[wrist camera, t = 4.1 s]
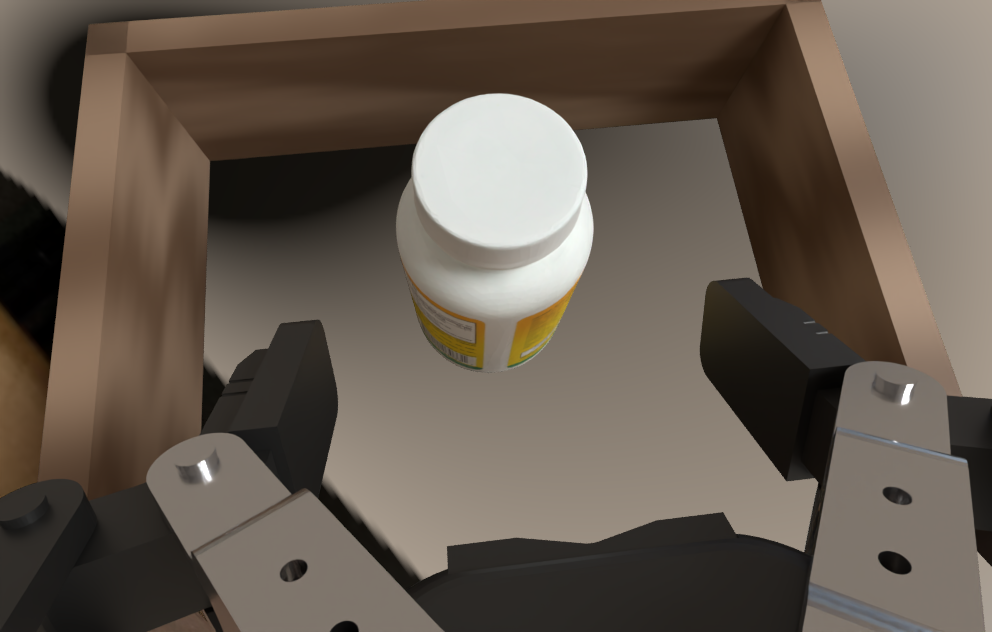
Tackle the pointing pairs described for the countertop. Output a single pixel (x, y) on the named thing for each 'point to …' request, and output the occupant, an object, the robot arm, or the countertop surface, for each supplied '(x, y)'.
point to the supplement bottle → (494, 229)
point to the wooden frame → (401, 120)
